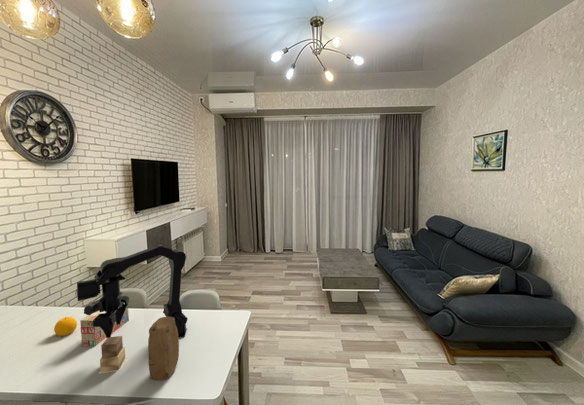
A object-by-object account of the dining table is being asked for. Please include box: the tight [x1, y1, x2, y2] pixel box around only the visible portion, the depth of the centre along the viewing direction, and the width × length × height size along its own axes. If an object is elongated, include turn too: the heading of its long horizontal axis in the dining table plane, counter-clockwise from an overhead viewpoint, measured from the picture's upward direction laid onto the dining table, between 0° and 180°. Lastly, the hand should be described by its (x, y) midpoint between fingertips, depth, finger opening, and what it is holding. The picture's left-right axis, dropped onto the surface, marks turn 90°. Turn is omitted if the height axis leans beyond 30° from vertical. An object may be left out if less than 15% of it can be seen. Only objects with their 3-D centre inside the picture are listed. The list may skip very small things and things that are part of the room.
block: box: [147, 316, 180, 381], centre depth 95 cm, size 11×8×20 cm
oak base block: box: [99, 346, 126, 372], centre depth 98 cm, size 6×6×5 cm
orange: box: [53, 316, 78, 337], centre depth 119 cm, size 8×8×8 cm
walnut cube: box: [100, 335, 124, 358], centre depth 97 cm, size 5×5×5 cm
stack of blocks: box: [79, 302, 130, 347], centre depth 119 cm, size 21×6×12 cm, turn 178°
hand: (113, 330), depth 101 cm, fingers open, 9 cm apart
